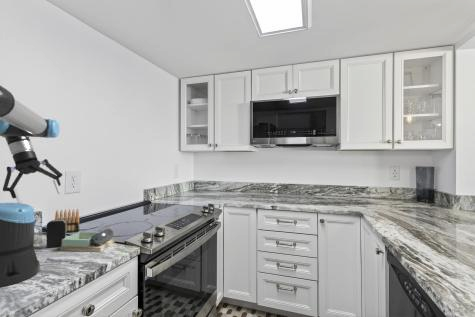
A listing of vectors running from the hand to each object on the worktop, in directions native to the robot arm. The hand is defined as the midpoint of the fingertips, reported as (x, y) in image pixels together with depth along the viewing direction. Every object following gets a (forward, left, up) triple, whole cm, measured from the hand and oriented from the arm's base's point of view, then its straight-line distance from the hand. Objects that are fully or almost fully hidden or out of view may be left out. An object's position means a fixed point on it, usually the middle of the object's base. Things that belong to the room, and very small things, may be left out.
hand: (41, 198), depth 104 cm
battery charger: (+1, -6, -21) cm, 22 cm away
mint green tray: (+2, -20, -21) cm, 29 cm away
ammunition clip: (+20, +3, -21) cm, 29 cm away
